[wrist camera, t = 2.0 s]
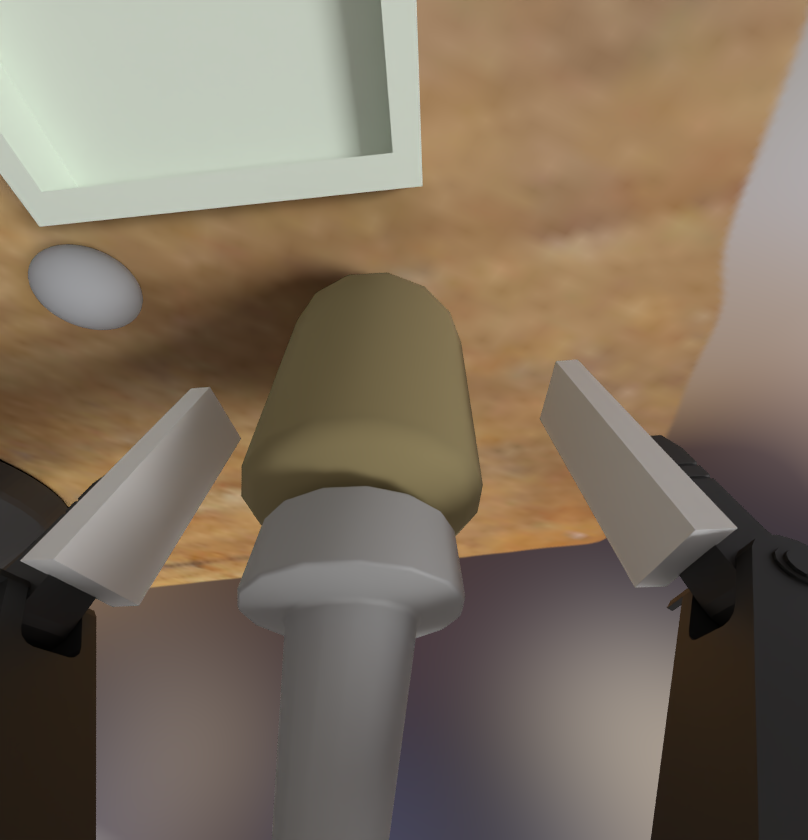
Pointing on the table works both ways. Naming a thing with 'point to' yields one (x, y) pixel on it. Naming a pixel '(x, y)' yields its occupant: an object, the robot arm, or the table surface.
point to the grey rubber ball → (85, 287)
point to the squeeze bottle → (356, 538)
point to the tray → (204, 103)
